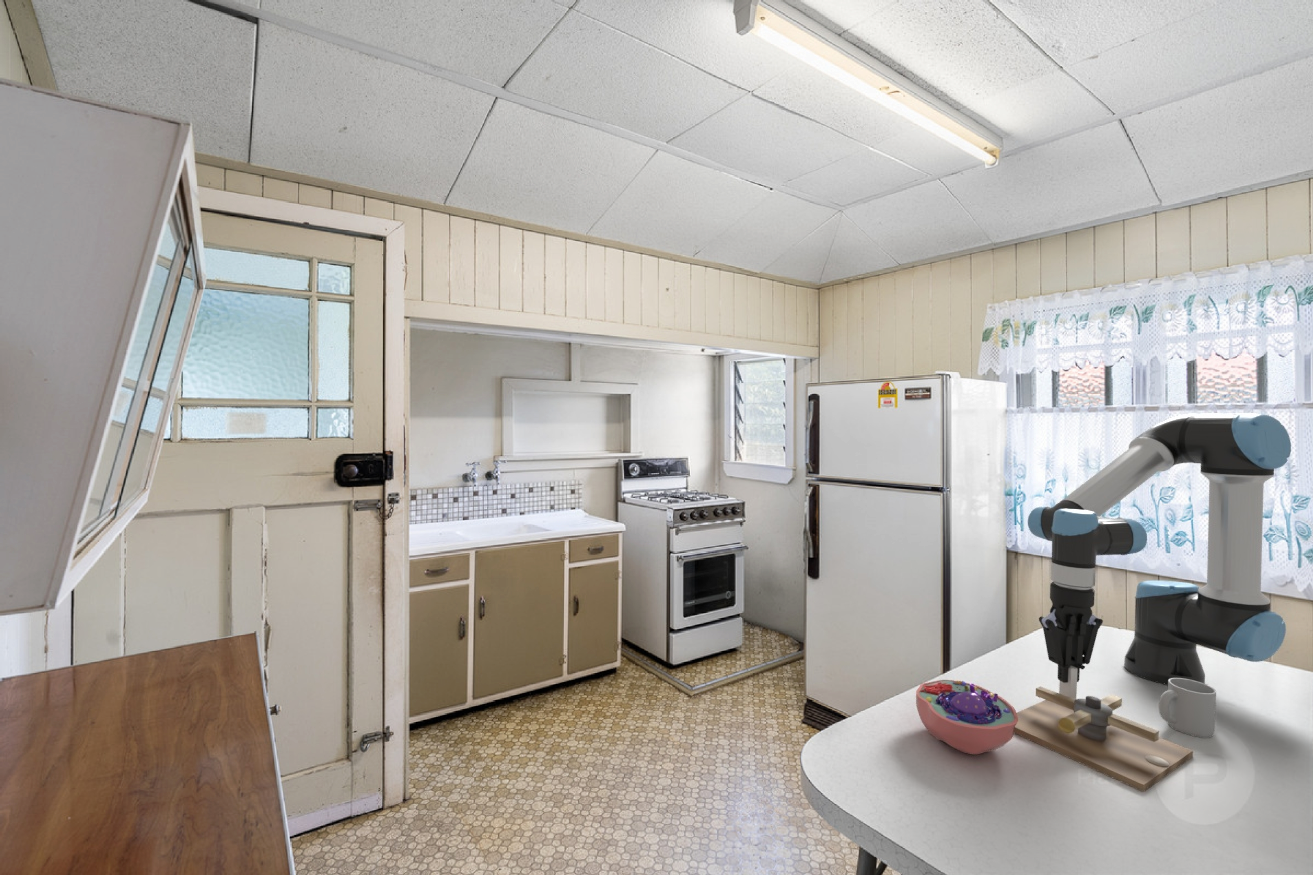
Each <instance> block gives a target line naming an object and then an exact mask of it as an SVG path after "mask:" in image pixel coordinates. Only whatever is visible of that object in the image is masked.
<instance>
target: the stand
mask: <svg viewBox="0 0 1313 875" xmlns="http://www.w3.org/2000/svg"><path fill="white" fill-rule="evenodd" d="M1072 713H1074V711H1073V710H1071V709H1068V708H1066V707H1063V706H1060V705H1058V704H1055V703H1053V702H1050V701H1048V700H1045V699H1043V700H1042V701H1040V702H1037V703H1036V704H1033V705H1030V706H1028V707H1026V708H1024V709H1021V710H1020V711H1016V714H1017V717H1018V722H1017V724H1016V725H1015V727H1014V733H1013V734H1016V735H1018V736H1020V737H1023V738H1025V739H1026V740H1029V741H1031V742H1033V743H1035V744H1037V745H1039V746H1042V747H1045V748H1046V749H1049V750H1051V751H1053V752H1056V753H1057V754H1059V755H1062V756H1064V757H1066V758H1068V759H1071V760H1073V761H1075V762H1077V763H1079V764H1081V765H1084V766H1086V767H1087V768H1091V769H1092V770H1095V771H1097V772H1099V773H1101V774H1104V775H1106V776H1108V777H1110V778H1111V779H1114V780H1116V781H1118V782H1121V783H1123V784H1126V785H1127V786H1129V787H1130V786H1131V787H1132V788H1134V789H1136V790H1138V791H1141V792H1145V791H1147V790H1148V789H1149V788H1151V787H1152V786H1154V785H1155V784H1156V783H1158V782H1160V781H1161V780H1162V779H1164V778H1165V777H1166V776H1168V775H1170V774H1171V773H1172V772H1173V771H1175V770H1176V769H1178V768H1180V766H1182V765H1184V764H1185V763H1186V762H1187V761H1190V760H1191V759H1192V758H1193V756H1194V755H1193V754H1194V750H1192V749H1190V748H1187V747H1184V746H1182V745H1180V744H1177V743H1174V742H1172V741H1169V740H1168V739H1164V738H1162V737H1159V740H1157V741H1156V742H1153V741H1150V740H1147V739H1145V738H1142V737H1140V736H1137V735H1135V734H1132V733H1129V732H1127V731H1124V730H1122V729H1119V728H1117V727H1114V726H1112V725H1110V726H1097V725H1093V724H1089V723H1088V724H1086V725H1084V726H1082V727H1080V728H1078V729H1076V730H1074V731H1073V732H1072V733H1065V732H1063V731H1062V730H1061V729H1060V728H1059V726H1058V721H1059V720H1060V719H1061V718H1064V717H1066V716H1068V715H1070V714H1072Z"/></svg>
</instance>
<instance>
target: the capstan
mask: <svg viewBox="0 0 1313 875" xmlns="http://www.w3.org/2000/svg"><path fill="white" fill-rule="evenodd" d="M1035 697H1037V698H1040V699H1043V700H1048V701H1050V702H1053V703H1055V704H1058V705H1060V706H1063V707H1066V708H1068V709H1071V710H1073V711H1074V713H1072V714H1070V715H1068V716H1066V717H1064V718H1061V719H1060V720H1059V721H1058V726H1059V728H1060V729H1061V730H1062V731H1063V732H1065V733H1072V732H1073V731H1074V730H1076V729H1078V728H1080V727H1082V726H1084V725H1086V724H1088V723H1089V724H1093V725H1097V726H1110V725H1112V726H1114V727H1117V728H1119V729H1122V730H1124V731H1127V732H1129V733H1132V734H1135V735H1137V736H1140V737H1142V738H1145V739H1147V740H1150V741H1153V742H1156V741H1157V740H1159V738H1160V730H1157V729H1155V728H1153V727H1150V726H1147V725H1145V724H1141V723H1140V722H1136V721H1134V720H1131V719H1128V718H1126V717H1123V716H1121V715H1118V714H1116V713H1114V712H1113V711H1114V710H1117V709H1119V708H1120V707H1122V705H1123V704H1122V703H1123V702H1122V700H1123V698H1122V697H1119V696H1116V695H1114V694H1110V695H1107V696H1105V697H1103V698H1102V699H1100V698H1098V697H1096V696H1092V695H1087V696H1085V698H1076V700H1075V699H1073V698H1070V697H1067V696H1065V695H1062V694H1059V692H1057V691H1054V690H1051V689H1048V688H1046V687H1043V686H1038V687H1036V688H1035Z"/></svg>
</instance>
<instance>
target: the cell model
mask: <svg viewBox="0 0 1313 875" xmlns="http://www.w3.org/2000/svg"><path fill="white" fill-rule="evenodd" d="M915 694H916V696H915V704H916V709H917V712H918V713H917V714H918V716H919V719H920V721H921V723H922V725H923V726H924V727H925V729H926V730H927V731H928V732H929V734H930V735H931V736H933V737H934V738H935V739H937V740H938V741H941V742H943V743H945V744H947V745H948V746H950V747H951V748H954V750H957V751H959V752H961V753H965V754H969V755H980V754H983V753H987V752H988V753H989V752H993V751H996V750H998V749H1000V748H1002V747H1004V746H1005V745H1006V744H1008V743H1009V742H1011V740H1012V739H1013V738H1014V734H1015V733H1014V727H1015V725H1016V724H1017V722H1018V717H1017V714H1016V713H1017V711H1016V709H1015V707H1013V705H1012V704H1011V703H1009V702H1008V701H1007V700H1006V699H1004V698H1003V697H1001V696H1000V695H998V693H995V692H994V693H993V692H992V691H990V690H988V689H986V688H983V687H982V686H979V685H978V684H977V685H976V684H974V683H968V682H965V681H964V680H954V679H953V680H951V679H938V680H934V681H933V680H932V681H929V682H924V683H921V684H920V685H919V687H918V688H917V690H916V693H915Z"/></svg>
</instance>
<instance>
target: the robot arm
mask: <svg viewBox="0 0 1313 875" xmlns="http://www.w3.org/2000/svg"><path fill="white" fill-rule="evenodd" d="M1291 452H1292V444H1291V437H1290V435H1289V433H1288V430H1287V428H1286V427H1285V426H1284V425H1283V424H1282V423H1281V421H1279V419H1277V418H1276V417H1273V416H1271V415H1269V414H1260V413H1247V412H1242V413H1188V414H1182V415H1178V416H1175V417H1171V418H1169V419H1166V420H1165V421H1163V422H1160V423H1157V424H1156V425H1154V426H1152V427H1150V428H1149V429H1146V430H1145V431H1144V432H1142V433H1141V434H1139V435H1138V436H1136V437H1135V438H1134V439H1132V441H1130V442H1129V444H1128V449H1127V450H1126V451H1124V452H1123V453H1122V454H1120V455H1119V456H1118V457H1116V458H1114V460H1112V461H1111V462H1110V463H1109V464H1107V465H1106V466H1105V467H1103V468H1102V469H1100V470H1099V471H1098V472H1096V473H1095V474H1094V475H1093V476H1091V477H1090V478H1089V479H1087V480H1086V481H1084V483H1082V484H1081V485H1080V486H1078V487H1077V488H1076V489H1075V490H1073V491H1072V492H1071V493H1069V494H1068V495H1067V496H1066V497H1064V498H1063V499H1060V501H1059V502H1057V503H1056V504H1055V505H1053V506H1051V507H1050V506H1039V507H1034V509H1032V510H1031V511H1030V513H1029V515H1028V517H1027V526H1028V530H1029V531H1030V533H1031V534H1032V535H1034V536H1035V537H1036V538H1037V537H1038V538H1040V539H1043V540H1046V541H1049V542H1051V561H1050V563H1051V564H1050V565H1051V566H1050V579H1051V581H1052V582H1051V583H1049V585H1050V586H1049V599H1050V601H1051V607H1050V609H1049V614H1048V615H1046V616H1045V617H1044V616H1040V617H1038V621H1039V623H1040V625H1041V627H1042V629H1043V636H1044V640H1045V645H1046V652H1047V656H1048V661H1050V662H1052V663H1053V664H1056V665H1057V679H1058V681H1059V685H1058V686H1059V687H1058V688H1059V689H1058V690H1059V691H1058V693H1059V694H1062V695H1065V696H1067V697H1070V698H1073V699H1075V700H1076V699H1077V694H1078V693H1077V690H1078V688H1077V687H1078V683H1079V681H1080V672H1081V671H1080V670H1084V669H1086V666H1085V665H1089V664H1090V662H1091V660H1092V659H1091V658H1092V656H1093V651H1094V648H1095V644H1096V640H1097V639H1096V638H1097V635H1098V632H1099V629H1100V628H1101V626H1102V625H1103V622H1104V620H1103V619H1102V618H1100V617H1097V616H1095V615H1094V614H1093V610H1092V608H1093V607H1094V606H1095V594H1096V593H1095V592H1096V591H1095V589H1094V588H1093V587H1096V566H1097V556H1127V555H1131V554H1132V555H1133V554H1137V553H1139V552H1141V551H1143V549H1145V547H1146V545H1147V543H1148V542H1147V541H1148V533H1147V531H1146V530H1145V529H1146V528H1144V525H1142V524H1141V523H1140V522H1139V521H1137V520H1134V519H1132V518H1123V517H1117V518H1116V517H1115V518H1113V517H1105V516H1103V515H1104V514H1105V513H1106V512H1108V511H1109V510H1111V508H1113V507H1115V506H1116V505H1117V504H1118V503H1119V502H1121V501H1122V500H1123V499H1124V498H1126V497H1127V496H1129V495H1130V494H1131V493H1133V491H1135V490H1136V489H1137V488H1139V487H1141V485H1143V483H1145V482H1147V480H1149V479H1150V478H1152V477H1153V476H1154V475H1156V474H1157V473H1158V472H1160V473H1161V472H1167V471H1168V470H1170V469H1172V468H1173V467H1174V466H1175V465H1180V464H1189V463H1190V464H1192V463H1193V464H1199V465H1200V474H1202V475H1203V477H1205V478H1206V479H1207V480H1208V481H1209V482H1208V483H1209V485H1208V524H1207V526H1208V528H1207V531H1208V533H1207V564H1206V565H1207V569H1206V571H1207V572H1206V577H1207V578H1206V584H1205V585H1204V586H1202V587H1199V586H1198V585H1197V584H1194V583H1190V582H1183V581H1182V582H1181V581H1174V580H1172V581H1170V580H1144V581H1141V582H1139V583H1138V584H1137V586H1136V593H1135V596H1134V599H1135V600H1134V601H1135V602H1134V604H1135V606H1134V608H1135V609H1134V635H1133V636H1134V637H1133V639H1132V641H1131V643H1130V646H1129V647H1128V649H1127V651H1126V654H1125V655H1124V660H1123V661H1124V664H1123V665H1124V668H1125V669H1126V670H1127V671H1129V673H1132V674H1134V675H1136V676H1138V677H1141V678H1144V679H1146V680H1149V681H1151V682H1155V683H1157V684H1158V683H1159V684H1163V685H1167V686H1168V680H1169V679H1171V678H1183V679H1189V680H1193V681H1197V682H1200V683H1203V684H1206V680H1205V679H1206V673H1205V670H1204V668H1203V665H1202V662H1201V660H1200V657H1199V654H1198V651H1197V645H1198V646H1201V647H1204V648H1208V649H1211V650H1213V651H1216V652H1220V653H1222V654H1224V655H1228V657H1232V658H1236V659H1241V660H1245V661H1247V662H1253V663H1257V662H1258V663H1259V662H1263V661H1267V660H1268V659H1271V657H1272V656H1274V655H1275V654H1276V653H1277V652H1278V651H1279V649H1280V648H1281V646H1282V645H1283V643H1284V641H1285V637H1286V632H1287V626H1286V622H1285V621H1284V619H1283V617H1282V616H1281V615H1279V613H1276V612H1275V611H1271V599H1270V598H1269V597H1268V596H1266V595H1265V594H1264V593H1263V592H1262V587H1261V586H1262V558H1263V557H1262V556H1263V555H1262V554H1263V524H1264V523H1263V521H1264V520H1263V519H1264V518H1263V517H1264V515H1263V514H1264V487H1265V486H1264V484H1265V482H1267V481H1269V480H1270V479H1272V478H1274V476H1275V470H1276V469H1279V468H1280V469H1281V467H1283V466H1284V465H1286V464H1287V462H1289V460H1288V459H1289V458H1290V456H1291Z"/></svg>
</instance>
